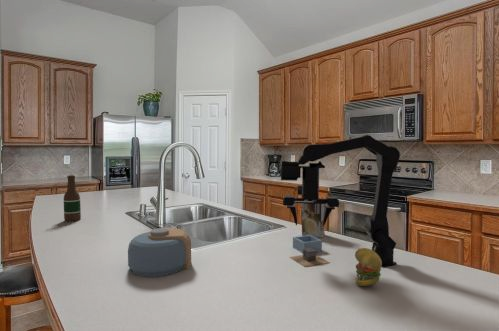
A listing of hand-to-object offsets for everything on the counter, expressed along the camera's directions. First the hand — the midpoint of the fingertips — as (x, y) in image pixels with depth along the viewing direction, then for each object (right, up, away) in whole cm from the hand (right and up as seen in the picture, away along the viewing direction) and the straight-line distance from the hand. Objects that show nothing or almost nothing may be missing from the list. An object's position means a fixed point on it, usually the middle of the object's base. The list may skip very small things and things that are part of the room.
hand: (309, 225), depth 111 cm
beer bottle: (-115, -9, +59) cm, 130 cm away
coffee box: (+8, -10, +32) cm, 34 cm away
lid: (0, -13, 0) cm, 13 cm away
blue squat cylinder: (-51, -13, -5) cm, 52 cm away
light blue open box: (+1, -11, +12) cm, 17 cm away
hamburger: (+13, -14, -20) cm, 27 cm away
